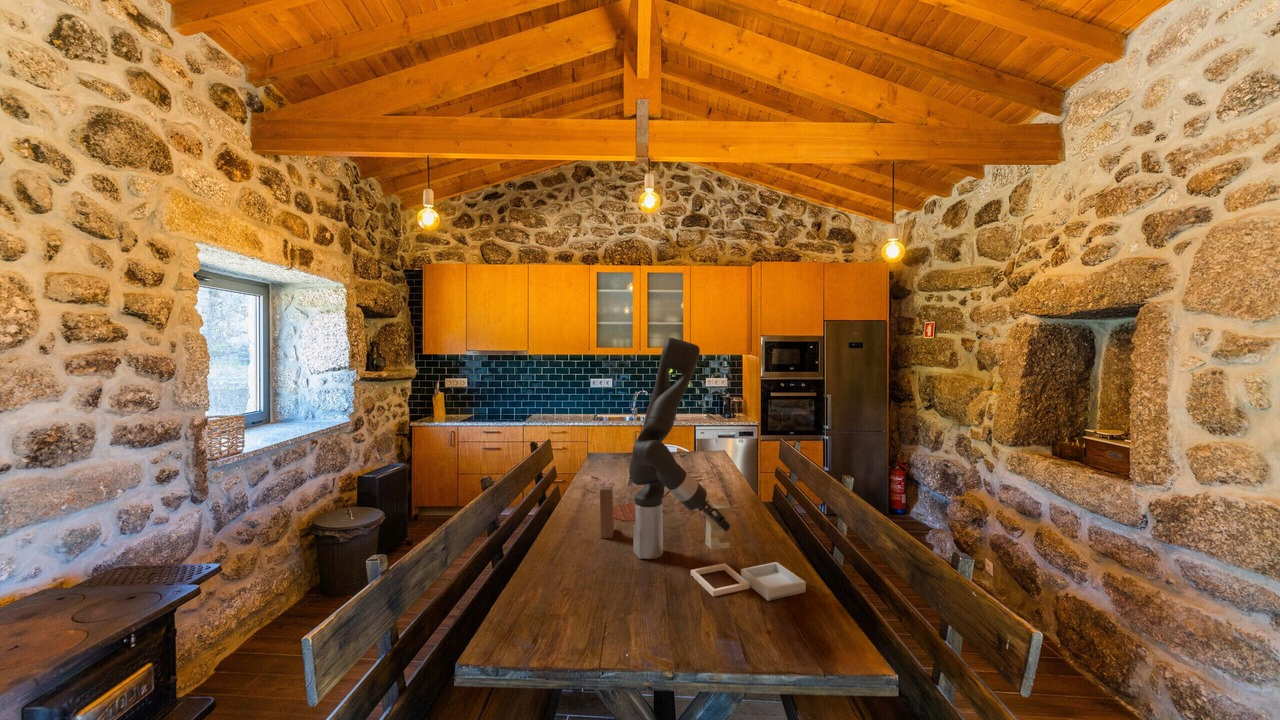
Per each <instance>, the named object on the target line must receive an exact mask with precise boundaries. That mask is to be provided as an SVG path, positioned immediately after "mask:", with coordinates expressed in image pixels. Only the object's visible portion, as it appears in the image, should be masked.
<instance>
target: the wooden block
mask: <svg viewBox="0 0 1280 720" xmlns="http://www.w3.org/2000/svg"><path fill="white" fill-rule="evenodd" d="M613 491H614V489H613V486H611V485H610V486H609V485H607V486H606V485H605V486H600V488H599V519H600V520H599V521H600V522H599V525H600V531H599V532H600V535H599V536H600V539H613V538H614V533H615V532H614V531H615V523H614V520H615V519H614V518H613V507H614V500H613V499H614V497H613V496H614V494H613V493H614V492H613Z"/></svg>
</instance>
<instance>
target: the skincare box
mask: <svg viewBox="0 0 1280 720" xmlns="http://www.w3.org/2000/svg"><path fill="white" fill-rule="evenodd" d="M712 505H713V506H714V507H715V508H716V509H717V510H718V511H719V512H720V513H721V514H722V515H723V517H725V521H726V522H728V523H729V524H730V525H731V509H732V508H731V506H730V505H729V504H727V503H726V502H716V503H712ZM705 516H706V515H705ZM730 540H731V527H730V528H729V530H728V531H725V530H724V529H722V528H721V527H720V526H719V525H718V524H716V522H715V521H714V520H710V519H709V518H708V517H707V516H706V517H705V540H704V541H705V545H706V547H708V549H710V550H719V549H727V548H728V549H729V548H730V545H731V544H730V543H731V541H730Z"/></svg>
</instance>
